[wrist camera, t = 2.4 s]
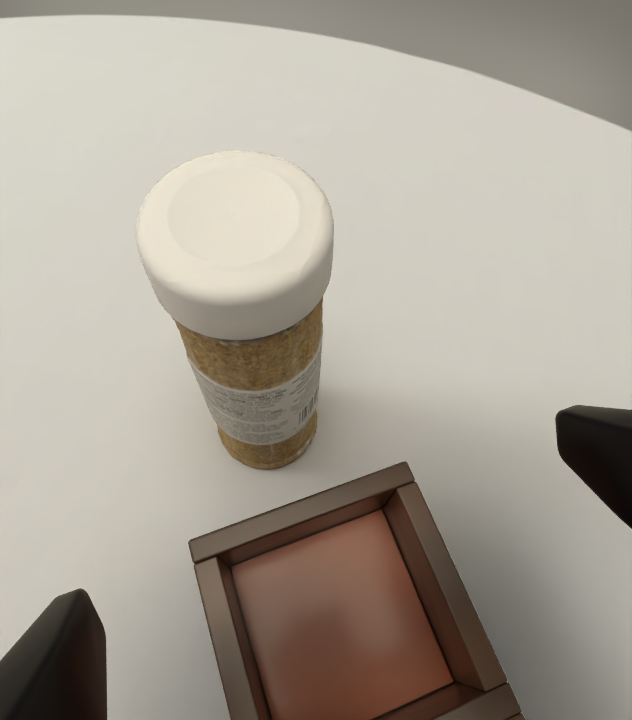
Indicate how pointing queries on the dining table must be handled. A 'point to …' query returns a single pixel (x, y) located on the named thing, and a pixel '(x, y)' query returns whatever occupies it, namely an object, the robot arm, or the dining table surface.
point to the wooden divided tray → (347, 612)
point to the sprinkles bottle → (245, 292)
